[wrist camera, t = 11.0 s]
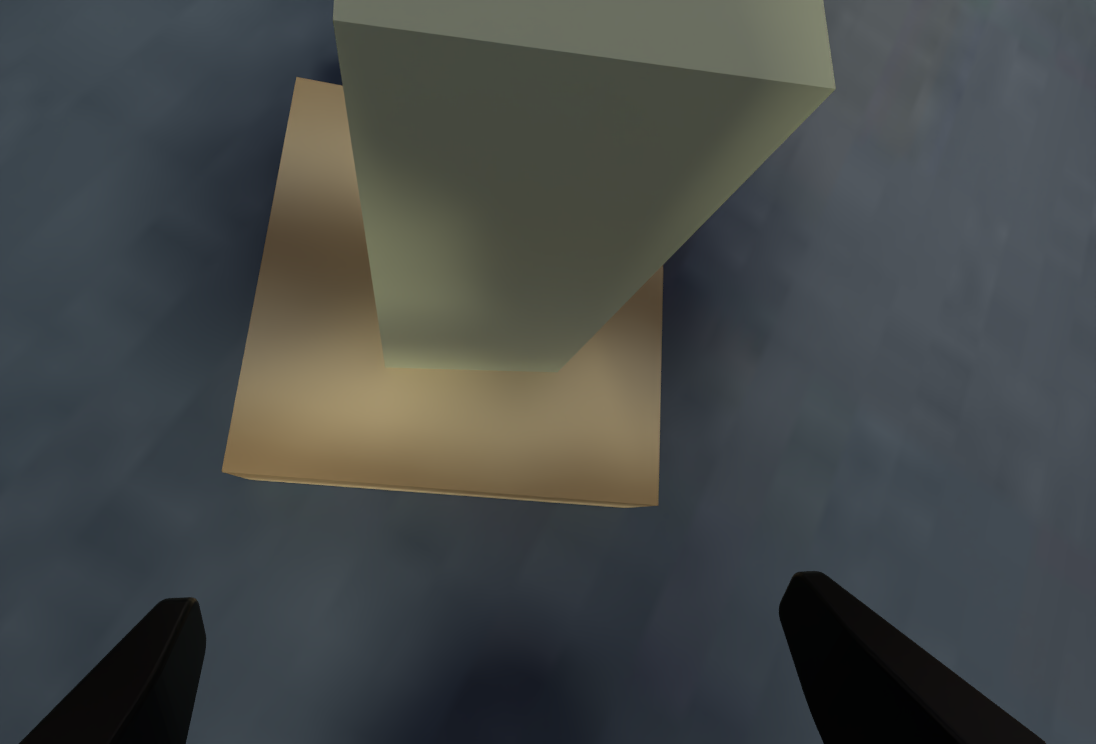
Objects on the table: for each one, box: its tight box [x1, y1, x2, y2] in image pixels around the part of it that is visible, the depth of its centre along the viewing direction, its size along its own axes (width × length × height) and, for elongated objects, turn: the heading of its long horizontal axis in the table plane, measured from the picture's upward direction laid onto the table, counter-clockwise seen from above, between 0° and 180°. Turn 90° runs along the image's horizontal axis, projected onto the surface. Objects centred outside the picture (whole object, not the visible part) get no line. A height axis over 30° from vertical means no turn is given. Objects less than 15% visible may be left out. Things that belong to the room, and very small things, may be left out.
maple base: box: [222, 77, 663, 508], centre depth 20 cm, size 12×12×3 cm
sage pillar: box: [333, 0, 836, 372], centre depth 13 cm, size 5×5×13 cm
